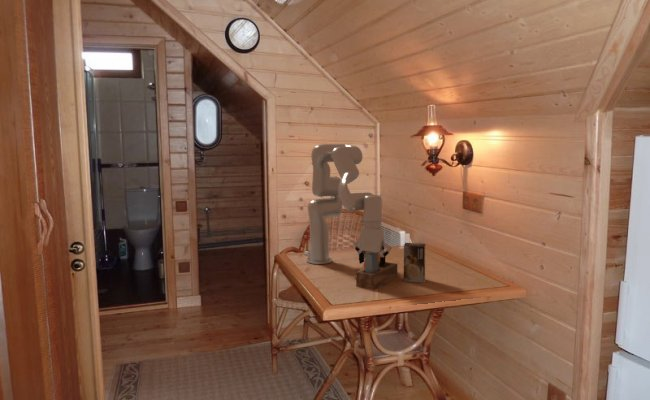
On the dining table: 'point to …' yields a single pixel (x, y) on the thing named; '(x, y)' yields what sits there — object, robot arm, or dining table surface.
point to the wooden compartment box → (376, 276)
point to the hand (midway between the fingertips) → (371, 264)
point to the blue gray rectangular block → (371, 262)
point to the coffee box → (414, 262)
